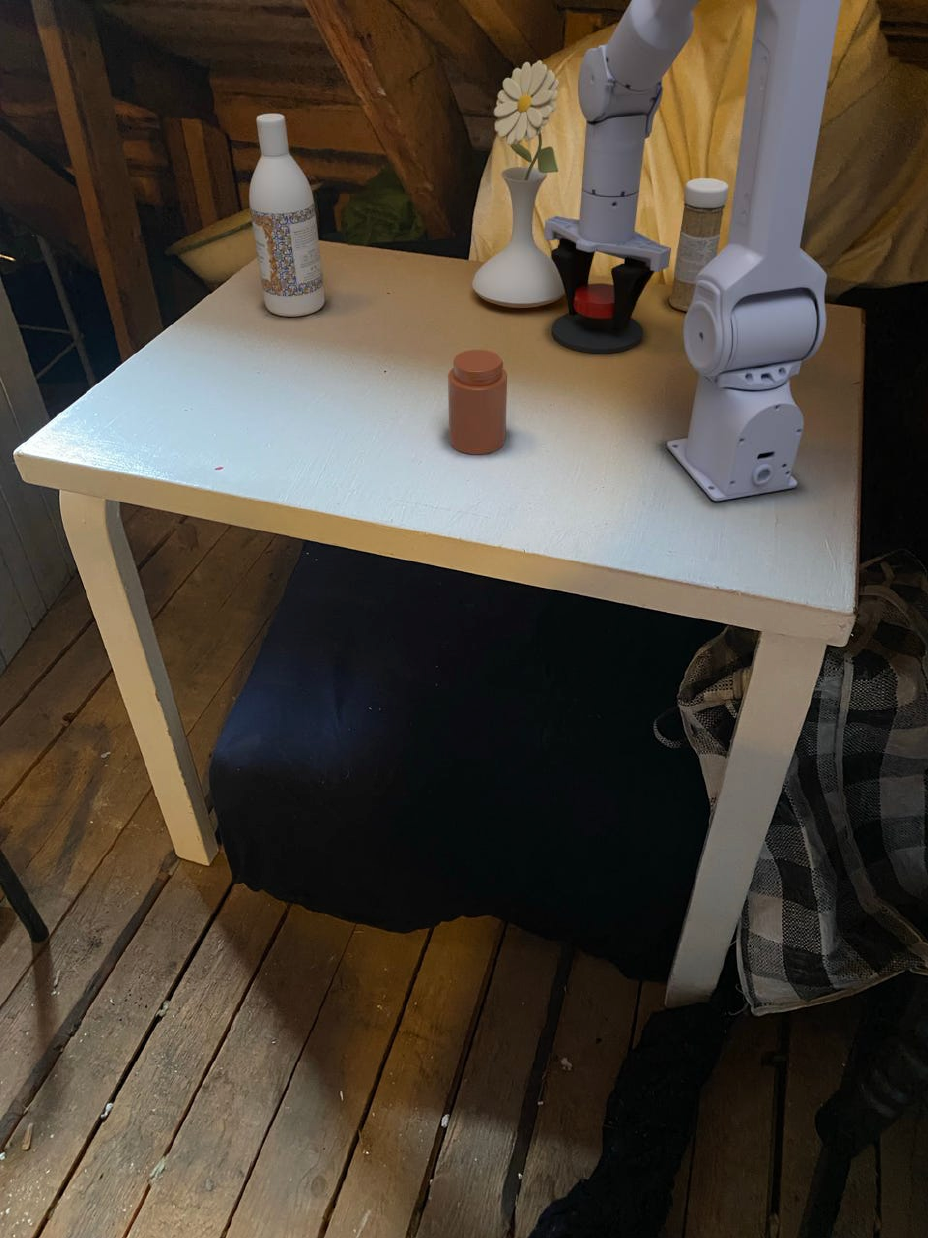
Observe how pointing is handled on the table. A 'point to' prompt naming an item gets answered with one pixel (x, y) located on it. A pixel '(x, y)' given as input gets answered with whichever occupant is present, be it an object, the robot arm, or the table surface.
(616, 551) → the table surface
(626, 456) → the table surface
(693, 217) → the sprinkles bottle
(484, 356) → the jar
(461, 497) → the table surface
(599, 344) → the coaster
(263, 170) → the bath foam
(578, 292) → the lid
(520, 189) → the flower in vase
